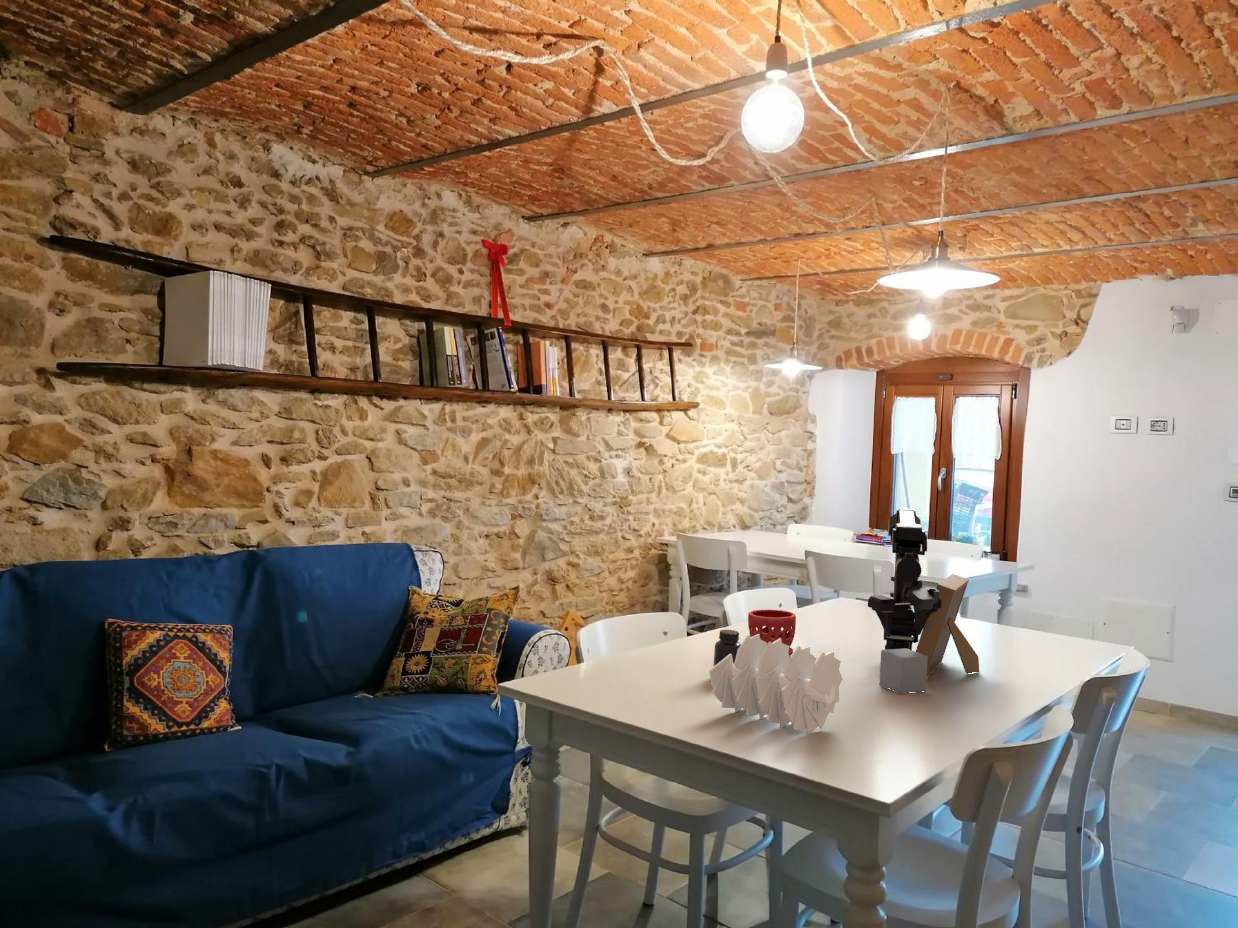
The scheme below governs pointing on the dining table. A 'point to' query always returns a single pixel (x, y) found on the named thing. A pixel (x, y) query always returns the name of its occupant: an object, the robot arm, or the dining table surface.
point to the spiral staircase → (778, 683)
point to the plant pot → (773, 620)
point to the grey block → (903, 670)
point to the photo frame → (947, 627)
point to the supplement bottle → (726, 645)
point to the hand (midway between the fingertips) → (903, 635)
